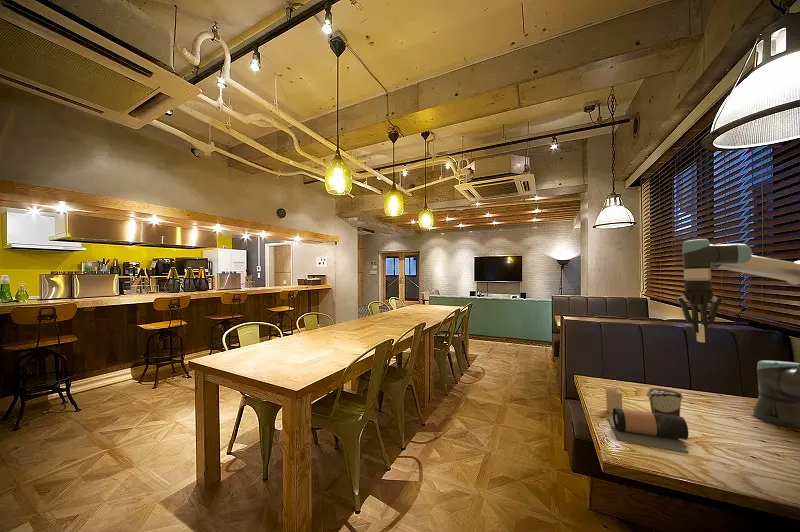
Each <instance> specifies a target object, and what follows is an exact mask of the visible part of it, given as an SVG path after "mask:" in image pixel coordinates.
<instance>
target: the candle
mask: <svg viewBox="0 0 800 532" xmlns="http://www.w3.org/2000/svg"><path fill="white" fill-rule="evenodd" d="M605 398H606V401H605V402H606V411H607V412H608V413H611V414H612V415H613V408H619V409H623V392H622V391H621V390H620V388H619V387H610V386H609V387H608V388H607V389H606V390H605Z"/></svg>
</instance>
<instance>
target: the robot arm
mask: <svg viewBox="0 0 800 532" xmlns="http://www.w3.org/2000/svg"><path fill="white" fill-rule="evenodd" d="M681 253H682V261H683V264H682V265H683V278H684V279H685V280H684V282H683V283H684V293H683V295H682V296H679V297H676V298H675V300H676V301H677V302H678V303H679V304H680V308H681V310H682V313H683V316H684V318H685V321H686V322H688V323H691V324H692V332H693V333H694V334H696V341H697V342H698V343H706V337H705V334H708V332H709V331H708V330H709V329H708V328H709V327H708V326H709V325H710V324H715V321H716V320H715V319H716V317H717V314H718V309H719V305H720V304H721V303H722V301H723V299H722V298H720V297H717V296H715V294H714V293H713V289H712V288H713V285H712V284H713V283H712V281H711V279H712V270H711V268H714V269H716V268H717V269H721V270H726V271H732V272H737V273H742V274H749V275H754V276H759V277H764V278H770V279H775V280H780V281H785V282H787V283H788V284H790V285H792V286H799V287H800V260H797V261H794V262H793V261H787V260H784V259H783V260H782V259H777V258H776V259H775V258H770V257H764V256H758V255H753V254H752V253H753V252H752V249H751V247H750V246H749V245H748V244H745V243H724V244H711V243H710V241H709V239H706V238H704V239H702V238H701V239H691V240H686V241H684V242H683V243H682V252H681ZM686 301H688V302H689V304H690V307H691V308H690V310H691V312H690V310H689V308H688V305H687V303H686ZM710 301H711V303H710V308H709V312H708V303H709V302H710ZM699 315H700V318H699ZM699 319H700V322H699ZM756 366H757V367H756V371H757V372H756V373H757V387H758V398H757V400H756V401H755V404H754V406H753V408H752V409H753V411H752V413H753V416H755V417H756V418H758V419H759V420H762V421H764V422H767V423H771V424H774V425H777V426H782V427H786V428H792V429H796V430H797V429H798V430H800V362H791V361H782V360H765V359H763V360H759V361H758V362H757V365H756Z"/></svg>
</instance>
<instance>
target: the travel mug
mask: <svg viewBox="0 0 800 532" xmlns="http://www.w3.org/2000/svg"><path fill="white" fill-rule="evenodd" d="M612 418H613V421H614V426H615V428H616V430H620V431H626V432H633V433H639V434H646V435H652V436H660V437H668V438H677V439H679V440H688V439H689V428H688V423H687V421H686V419H685V418H684V417H683V416H681V415H680V416H673V415H666V414H660V413H653V412H652V411H644V410H643V411H642V410H634V409H628V408H627V409H626V408H622V409H619V408H613V414H612Z"/></svg>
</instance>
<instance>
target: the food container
mask: <svg viewBox="0 0 800 532" xmlns="http://www.w3.org/2000/svg"><path fill="white" fill-rule="evenodd" d="M646 395H647V397H648V399H649V403H650V410H651V411H650V412H653V413H660V414H666V415H673V416H680V417H681V404H682V399H684V398H683V395H682V393H681V392H680V391H676V390H672V389H667V388H662V387H661V388H660V387H651V388H648V390H647V392H646Z"/></svg>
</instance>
